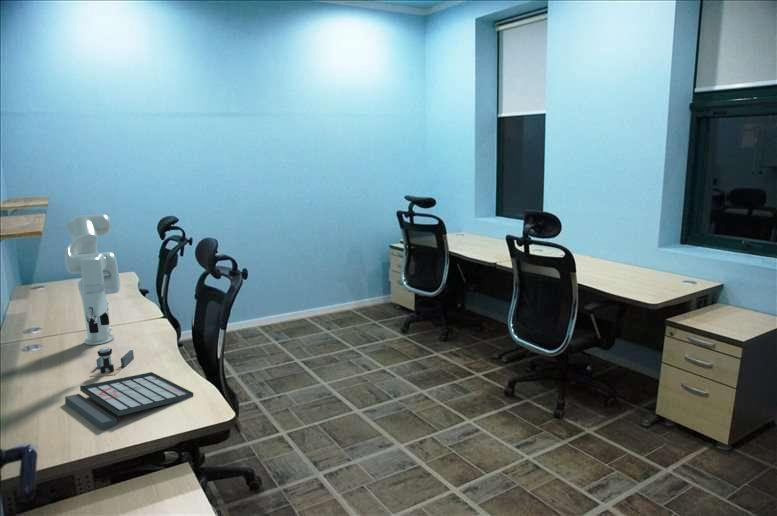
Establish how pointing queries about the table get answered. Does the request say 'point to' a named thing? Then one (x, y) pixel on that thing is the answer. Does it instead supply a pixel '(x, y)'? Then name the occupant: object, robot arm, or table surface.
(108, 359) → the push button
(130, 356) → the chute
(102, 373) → the mat
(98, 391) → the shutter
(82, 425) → the table surface
